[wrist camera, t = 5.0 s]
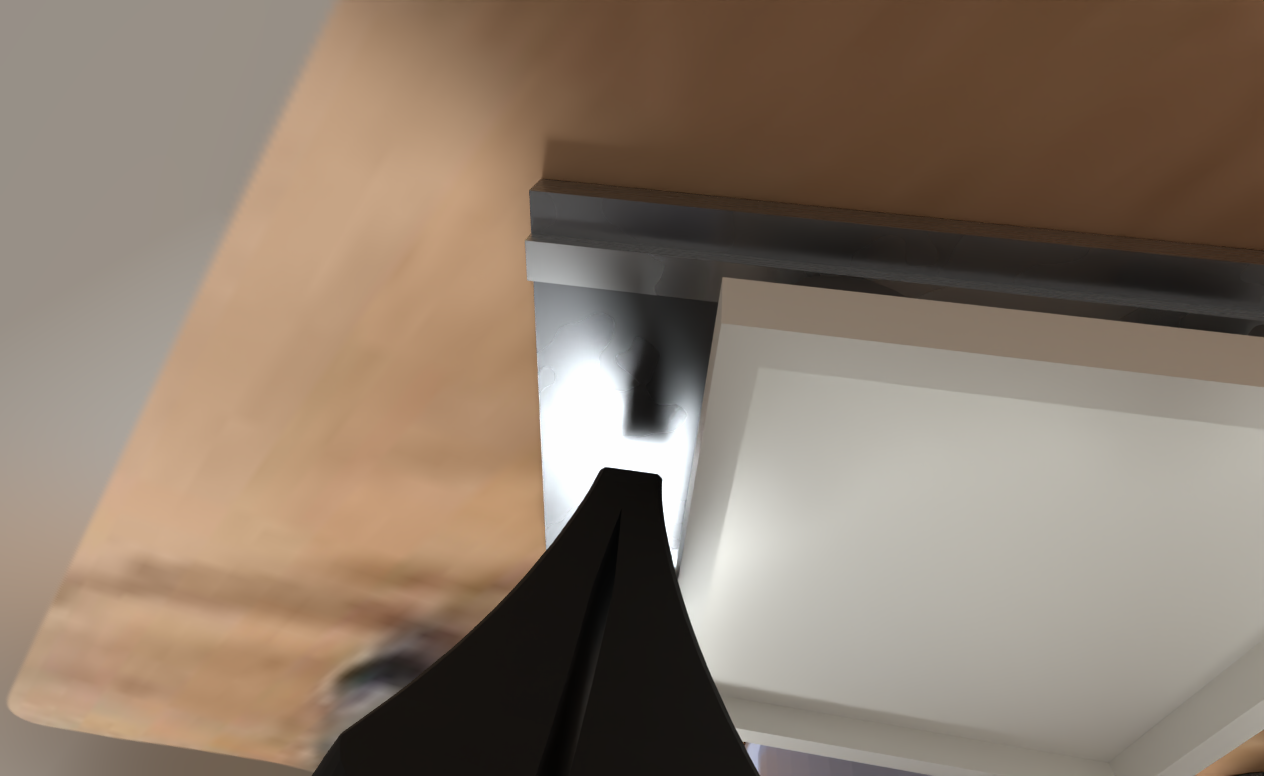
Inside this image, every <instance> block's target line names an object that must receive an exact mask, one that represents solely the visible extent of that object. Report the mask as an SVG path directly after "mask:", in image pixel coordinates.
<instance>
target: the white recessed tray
mask: <svg viewBox="0 0 1264 776" xmlns="http://www.w3.org/2000/svg"><path fill="white" fill-rule="evenodd" d="M675 572H676V576H677V579H678V583H679V586H680V590H681V593H682V597H683V600H684V603H685V606H686V609H687V613H688V616H689V619H690V622H691V624H692V627H693V630H694V633H695V635H696V638H697V641H698V644H699V646H700V649H701V651H702V654H703V656H704V659H705V661H706V664H707V666H708V669H709V671H710V674H711V676H712V678H713V680H714V683H715V685H716V687H717V689H718V691H719V694H720V696H721V698H722V700H723V702H724V705H725V707H726V709H727V711H728V713H729V716H730V718H731V720H732V722H733V724H734V726H735V728H736V730H737V732H738V734H739V736H740V738H741V740H742V742H748V743H753V744H759V745H764V746H770V747H776V748H781V749H787V750H792V751H798V752H803V753H809V754H815V755H820V756H826V757H831V758H837V759H843V760H848V761H854V762H859V763H865V764H870V765H876V766H882V767H887V768H893V769H898V770H904V771H910V772H915V773H921V774H926V775H932V776H1194V775H1196V774H1197V773H1199V772H1200V771H1202V770H1203V769H1205V768H1206V767H1208V766H1209V765H1211V764H1213V763H1214V762H1216V761H1217V760H1219V759H1220V758H1222V757H1223V756H1225V755H1226V754H1228V753H1229V752H1231V751H1232V750H1234V749H1235V748H1237V747H1238V746H1240V745H1241V744H1243V743H1244V742H1246V741H1247V740H1249V739H1250V738H1252V737H1253V736H1255V735H1256V734H1258V733H1259V732H1261V731H1262V730H1264V324H1262V325H1258V326H1255V327H1254V328H1253V329H1252V330H1251V331H1250V332H1249V334H1248V335H1239V334H1230V333H1221V332H1212V331H1203V330H1194V329H1185V328H1176V327H1167V326H1158V325H1149V324H1140V323H1131V322H1122V321H1113V320H1104V319H1095V318H1086V317H1077V316H1068V315H1059V314H1050V313H1041V312H1032V311H1023V310H1014V309H1005V308H996V307H987V306H978V305H969V304H960V303H951V302H942V301H933V300H924V299H915V298H907V297H906V296H904V295H903V294H901V293H899V292H897V291H895V290H893V289H891V288H888V287H886V286H883V285H880V284H877V283H874V282H870V281H867V280H862V279H858V278H852V277H845V276H831V275H825V276H813V277H808V278H804V279H801V280H799V281H797V282H795V283H794V284H793V285H790V284H781V283H772V282H763V281H754V280H745V279H736V278H727V277H722V284H721V290H720V296H719V302H718V308H717V315H716V321H715V327H714V333H713V340H712V346H711V352H710V358H709V364H708V371H707V377H706V383H705V389H704V395H703V402H702V408H701V414H700V420H699V426H698V433H697V439H696V445H695V451H694V458H693V464H692V470H691V476H690V482H689V489H688V495H687V501H686V507H685V513H684V520H683V526H682V532H681V538H680V544H679V551H678V557H677V563H676V569H675Z"/></svg>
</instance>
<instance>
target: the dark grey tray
mask: <svg viewBox="0 0 1264 776" xmlns="http://www.w3.org/2000/svg"><path fill="white" fill-rule="evenodd" d="M529 195H530V216H531V234H530V235H529V236H528V238H527V239H526V240H525V248H526V266H527V280H528V281H534V301H535V322H536V344H537V365H538V386H539V408H540V429H541V450H542V472H543V493H544V514H545V535H546V550H547V549H548V548H549V546H550V545H551V544H552V543H553V541H554V540H555V539H556V537H557V536H558V535H559V533H560V532H561V531H562V529H563V528H564V526H565V525H566V524H567V522H568V521H569V520H570V518H571V517H572V515H573V514H574V513H575V511H576V510H577V508H578V506H579V505H580V503H581V502H582V500H583V499H584V497H585V496H586V494H587V492H588V491H589V489H590V487H591V486H592V484H593V482H594V480H595V478H596V476H597V474H598V472H599V470H600V469H602V468H604V467H612V468H619V469H626V470H634V471H641V472H648V473H655V474H659V475H660V476H661V477H662V478H663V482H662V500H663V511H664V519H665V526H666V531H667V537H668V542H669V546H670V551H671V555H672V560H673V564H674V568H675V569H676V563H677V557H678V551H679V544H680V538H681V532H682V526H683V520H684V513H685V507H686V501H687V495H688V489H689V482H690V476H691V470H692V464H693V458H694V451H695V445H696V439H697V433H698V426H699V420H700V414H701V408H702V402H703V395H704V389H705V383H706V377H707V371H708V364H709V358H710V352H711V346H712V340H713V333H714V327H715V321H716V315H717V308H718V302H719V296H720V290H721V284H722V277H727V278H736V279H745V280H754V281H763V282H772V283H781V284H790V285H793V284H794V283H795V282H797V281H799V280H801V279H804V278H808V277H813V276H825V275H831V276H845V277H852V278H858V279H862V280H867V281H870V282H874V283H877V284H880V285H883V286H886V287H888V288H891V289H893V290H895V291H897V292H899V293H901V294H903V295H904V296H906V297H907V298H915V299H924V300H933V301H942V302H951V303H960V304H969V305H978V306H987V307H996V308H1005V309H1014V310H1023V311H1032V312H1041V313H1050V314H1059V315H1068V316H1077V317H1086V318H1095V319H1104V320H1113V321H1122V322H1131V323H1140V324H1149V325H1158V326H1167V327H1176V328H1185V329H1194V330H1203V331H1212V332H1221V333H1230V334H1239V335H1248V334H1249V332H1250V331H1251V330H1252V329H1253V328H1254V327H1255V326H1258V325H1262V324H1264V251H1260V250H1250V249H1240V248H1230V247H1220V246H1210V245H1200V244H1190V243H1180V242H1170V241H1160V240H1150V239H1140V238H1130V237H1119V236H1109V235H1099V234H1089V233H1079V232H1069V231H1059V230H1049V229H1039V228H1029V227H1019V226H1009V225H999V224H989V223H979V222H969V221H959V220H949V219H939V218H929V217H919V216H909V215H898V214H888V213H878V212H868V211H858V210H848V209H838V208H828V207H818V206H808V205H798V204H788V203H778V202H768V201H758V200H748V199H738V198H728V197H718V196H708V195H698V194H688V193H678V192H667V191H657V190H647V189H637V188H627V187H617V186H607V185H597V184H587V183H577V182H567V181H557V180H547V179H541V180H540V181H539V182H538V183H536V184H535V185H534V186H533V187H532V188H531V189H530V190H529Z"/></svg>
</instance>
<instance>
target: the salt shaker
mask: <svg viewBox="0 0 1264 776" xmlns="http://www.w3.org/2000/svg"><path fill="white" fill-rule="evenodd" d="M1238 776H1264V772H1261V773H1250V774H1244V775H1238Z"/></svg>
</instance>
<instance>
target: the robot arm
mask: <svg viewBox="0 0 1264 776" xmlns="http://www.w3.org/2000/svg"><path fill="white" fill-rule="evenodd" d="M662 482H663V478H662V477H661V476H660V475H659V474H655V473H648V472H641V471H634V470H626V469H619V468H612V467H604V468H602V469H600V470H599V472H598V474H597V476H596V478H595V480H594V482H593V484H592V486H591V487H590V489H589V491H588V492H587V494H586V496H585V497H584V499H583V500H582V502H581V503H580V505H579V506H578V508H577V510H576V511H575V513H574V514H573V515H572V517H571V518H570V520H569V521H568V522H567V524H566V525H565V526H564V528H563V529H562V531H561V532H560V533H559V535H558V536H557V537H556V539H555V540H554V541H553V543H552V544H551V545H550V546H549V548H548V549H547V550H546V551H545V553H544V554H543V555H542V556H541V557H540V559H539V560H538V561H537V562H536V563H535V565H534V566H533V567H532V568H531V570H530V571H529V572H528V573H527V574H526V575H525V576H524V578H523V579H522V580H521V581H520V582H519V583H518V584H517V585H516V586H515V588H514V589H513V590H512V591H511V592H510V593H509V594H508V595H507V596H506V597H505V598H504V599H503V600H502V601H501V602H500V603H499V604H498V605H497V606H496V607H495V608H494V609H493V610H492V611H491V612H490V613H489V614H488V615H487V616H486V617H485V618H484V619H483V620H482V621H481V622H480V623H479V624H478V625H477V626H476V627H475V628H474V629H473V630H471V631H470V632H469V633H468V634H467V635H466V636H465V637H464V638H463V639H462V640H461V641H459V642H458V643H457V644H456V645H455V646H454V647H453V648H452V649H450V650H449V651H448V652H447V653H446V654H444V655H443V656H442V657H441V658H440V659H438V660H437V661H436V662H435V663H433V664H432V665H431V666H430V667H429V668H427V669H426V670H425V671H424V672H423V673H421V674H420V675H419V676H418V677H417V678H415V679H414V680H413V681H412V682H410V683H409V684H408V685H407V686H405V687H404V688H403V689H401V690H400V691H399V692H398V693H396V694H395V695H393V696H392V697H391V698H389V699H388V700H387V701H385V702H384V703H382V704H381V705H380V706H378V707H377V708H376V709H374V710H373V711H371V712H370V713H369V714H367V715H366V716H364V717H363V718H362V719H360V720H359V721H358V722H356V723H355V724H353V725H352V726H351V727H349V728H348V729H346V730H345V731H344V732H343V733H341V734H340V736H339V737H338V738H337V740H336V741H335V742H334V744H333V745H332V747H331V748H330V750H329V751H328V752H327V754H326V755H325V757H324V758H323V760H322V761H321V763H320V764H319V766H318V768H317V769H316V770H315V772H314V773H313V775H312V776H932V775H926V774H921V773H915V772H910V771H904V770H898V769H893V768H887V767H882V766H876V765H870V764H865V763H859V762H854V761H848V760H843V759H837V758H831V757H826V756H820V755H815V754H809V753H803V752H798V751H792V750H787V749H781V748H776V747H770V746H764V745H759V744H753V743H748V742H746V744H745V746H744V744H743V742H742V740H741V738H740V736H739V734H738V732H737V730H736V728H735V726H734V724H733V722H732V720H731V718H730V716H729V713H728V711H727V709H726V707H725V705H724V702H723V700H722V698H721V696H720V694H719V691H718V689H717V687H716V685H715V683H714V680H713V678H712V676H711V674H710V671H709V669H708V666H707V664H706V661H705V659H704V656H703V654H702V651H701V649H700V646H699V644H698V641H697V638H696V635H695V633H694V630H693V627H692V624H691V622H690V619H689V616H688V613H687V609H686V606H685V603H684V600H683V597H682V593H681V590H680V586H679V583H678V579H677V576H676V572H675V568H674V564H673V560H672V555H671V551H670V546H669V542H668V537H667V531H666V526H665V519H664V511H663V500H662Z"/></svg>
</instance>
